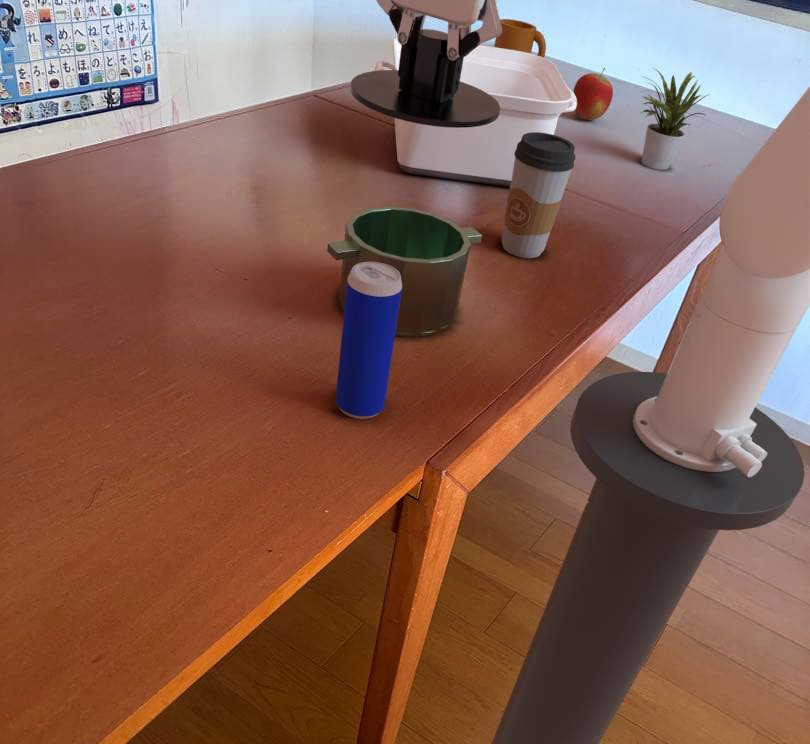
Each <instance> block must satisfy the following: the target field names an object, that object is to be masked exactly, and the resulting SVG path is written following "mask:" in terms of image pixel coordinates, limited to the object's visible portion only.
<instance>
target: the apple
mask: <svg viewBox="0 0 810 744" xmlns="http://www.w3.org/2000/svg"><path fill="white" fill-rule="evenodd" d="M605 69H606V67H603V69H602V72H601V73H600V74H599V73H585V74H583V75H582V76H581V77H579V78H578V79H577V81H576V82H575V85H574V88H573V90H572V92H573V93H574V94H575V96H576V99H577V106H576V109H575V110H574V113H575V114H576V116H577V117H578V118H580V119H582V120H587V121H594V120H598V119H600V118H601V117H602V116H604V115H605V114H606V113H607V111H608V110H609V107H610V106H611V103H612V100H613V96H614V89H613V85H612V83H611V82H610V80H609V79H607V78H606V76H603V73H604V71H605Z"/></svg>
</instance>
